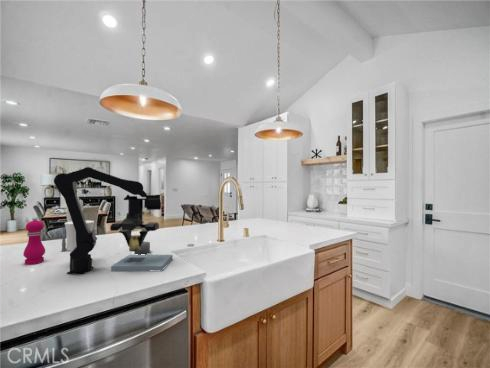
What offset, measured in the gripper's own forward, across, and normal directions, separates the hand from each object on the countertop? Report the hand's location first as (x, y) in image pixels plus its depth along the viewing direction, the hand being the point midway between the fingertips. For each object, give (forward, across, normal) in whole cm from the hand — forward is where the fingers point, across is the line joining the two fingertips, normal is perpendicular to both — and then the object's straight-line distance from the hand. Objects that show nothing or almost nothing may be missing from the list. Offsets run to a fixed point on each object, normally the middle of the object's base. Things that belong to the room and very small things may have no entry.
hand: (134, 246), depth 104 cm
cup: (+8, -25, +2) cm, 26 cm away
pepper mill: (+8, -45, +3) cm, 46 cm away
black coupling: (+8, -4, +18) cm, 20 cm away
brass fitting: (+2, 0, 0) cm, 2 cm away
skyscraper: (+8, -43, +25) cm, 50 cm away
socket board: (+8, +4, 0) cm, 9 cm away
